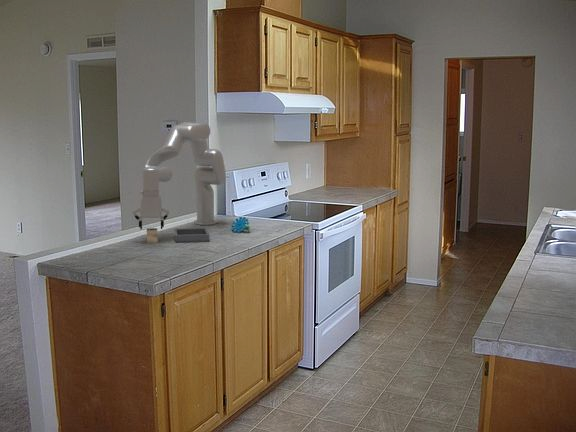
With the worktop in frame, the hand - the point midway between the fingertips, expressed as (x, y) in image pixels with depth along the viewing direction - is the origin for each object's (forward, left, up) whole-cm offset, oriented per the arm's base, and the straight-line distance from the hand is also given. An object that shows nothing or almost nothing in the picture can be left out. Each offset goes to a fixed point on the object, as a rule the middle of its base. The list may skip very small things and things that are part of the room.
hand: (151, 228), depth 299 cm
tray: (-3, +19, -6) cm, 21 cm away
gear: (-17, +46, -7) cm, 49 cm away
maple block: (0, 0, -6) cm, 6 cm away
